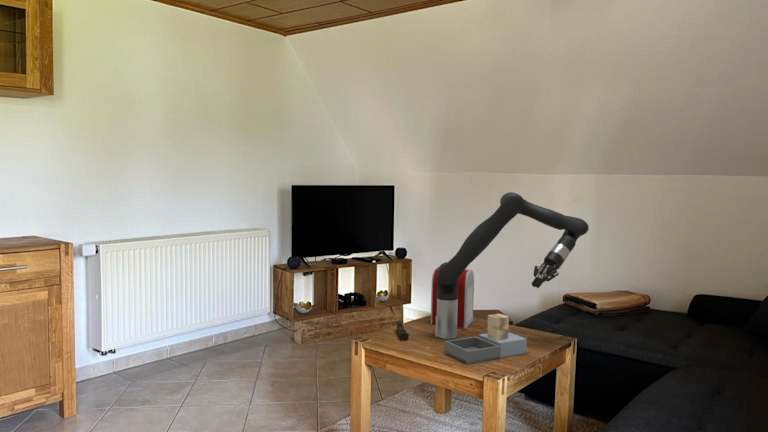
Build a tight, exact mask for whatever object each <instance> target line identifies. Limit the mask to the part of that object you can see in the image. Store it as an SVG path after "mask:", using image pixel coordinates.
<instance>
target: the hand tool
mask: <svg viewBox="0 0 768 432" xmlns="http://www.w3.org/2000/svg"><path fill="white" fill-rule="evenodd" d="M403 326H404V325H403V323H402V322H401V321H397V322H396V333H397V334H398V337H399V340H407V341H408V340H409V336H410V334H409V333H408V332H407V330H406V329H405V328H404V327H403Z"/></svg>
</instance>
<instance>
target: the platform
mask: <svg viewBox="0 0 768 432" xmlns="http://www.w3.org/2000/svg"><path fill="white" fill-rule="evenodd" d="M478 337H479V338H481V339H484V340H486V341H489V342H491V343H494V344H496V345H498V346H501V352H500V359H502V358H506V357H512V356H517V355H523V354H525V355H526V354H527V352H528V351H527V346H528V343H527V342H528V338H525V337H523V336H521V335H520V336H519V335H517V334H514V333H512V332H509V331H508V338H507V339H501V340H495V339H493V338H490V337H487V332H486V333H478Z"/></svg>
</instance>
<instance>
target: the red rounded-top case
mask: <svg viewBox="0 0 768 432" xmlns="http://www.w3.org/2000/svg"><path fill="white" fill-rule="evenodd" d="M438 268H439V266H437V267H436V268H435V269H434V270H433V271H432V272H433V273H432V274H431V275H432V277H431V288H430V289H431V293H430V294H431V296H430V297H431V299H430V325H434V326H435V325H436V315H437V272H438ZM474 274H475V273H474V271H473V269H470V268H466V269H465V270H464V271H463V273H462V274H461V276H460V277H459V278H458V308H457V328H458V329H459V328H460V329H461V328H462V329H466V328H468V326H469V325H471V323H472V322H474V293H475V292H474V291H475V275H474Z"/></svg>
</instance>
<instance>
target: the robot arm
mask: <svg viewBox="0 0 768 432" xmlns="http://www.w3.org/2000/svg"><path fill="white" fill-rule="evenodd" d="M499 201H500V202H499V204H500V206H499V207H498V208H497V209H496V210H495V211H494V213H492V215H490V216H488V218H487V219H485V220H484V221H482V222H481V223H480V224H478V225H477V226H476V227H475V228H474V229H473V230H472V231H471V233H469V235H467V237H466V239H465V240H464V242H463V243H462V245H461V247H459V249H458V251H457V252H456V254H455V255H453V257H452V258H451V259H449V260H448V261H445V262H443V263H442V264H440V265H439V266H438V267H439V268H438V272H437V315H436V325H434V326H435V329H434V330H435V331H434V336H435V338H440V339H445V340H447V339H448V340H453V339H457V337H458V327H457V308H458V278H459V277H460V276H461V274H462V273H463V271H464V270H465V269H468V268H467V267H468V266H469V265H470V264H471V263H472V262H473V261H475V259H477V258H478V257H479V256H480V255H481V254H482V253H483V252H484V251H485V249H487V247H488V246H489V245H490V244H491V243H492V242H493V241H494V240H495V238H497V236H498V235H499V234H500V232H501V231H502V230H503V229H504V228H505V226H506V225H507V224H508V223H510V221H512V220H513V219H514V218H515V217H516V216H517V215H518V214H519V215H522V216H525V217H528V218H530V219H532V220H535V221H537V222H539V223H541V224H543V225H545V226H548V227H550V228H553V229H556V230H560V231H562V230H564V231H563V234H562V235H561V237H560V238H559V239H558V240H557V242H556V243H555V245H554V246H552V248H551V249H550V250H549V252H547V254H546V256H545V257H544V259H543V263H541V264H540V266H537V265H535V266H534V268H533V276H534V279H533V281H532V282H531V286H532V287H533V288H536V289H539V288H540V287H541V286H542V285H543V283H545V282H550V281H551V280H553V279H555V278H556V277H557V276H559V274H560V273H559V272H558V270H560V268H561V267H562V266H563V264H564V262H565V261H566V260H567V258H568V257H569V255H570V253H571V252H572V251H573V249H574V248H575V246H576V243H577V240H578V239H579V238H580V237H582V236H583V235H586V234H587V232H588V231H589V224H588V223H587V221H586V220H583V219H582V218H579V217H577V216H576V217H575V216H570V215H565V214H562V213H560V212H558V211H555V210H553V209H550V208H546V207H543V206H540V205H538V204H534V203H532V202H531V201H528V200H526V199H525V198H524V197H522V196H521V194H518V193H516V192H511V191H510V192H506V193H505V194H503V195H502V196H501V197H500V200H499Z"/></svg>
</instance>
